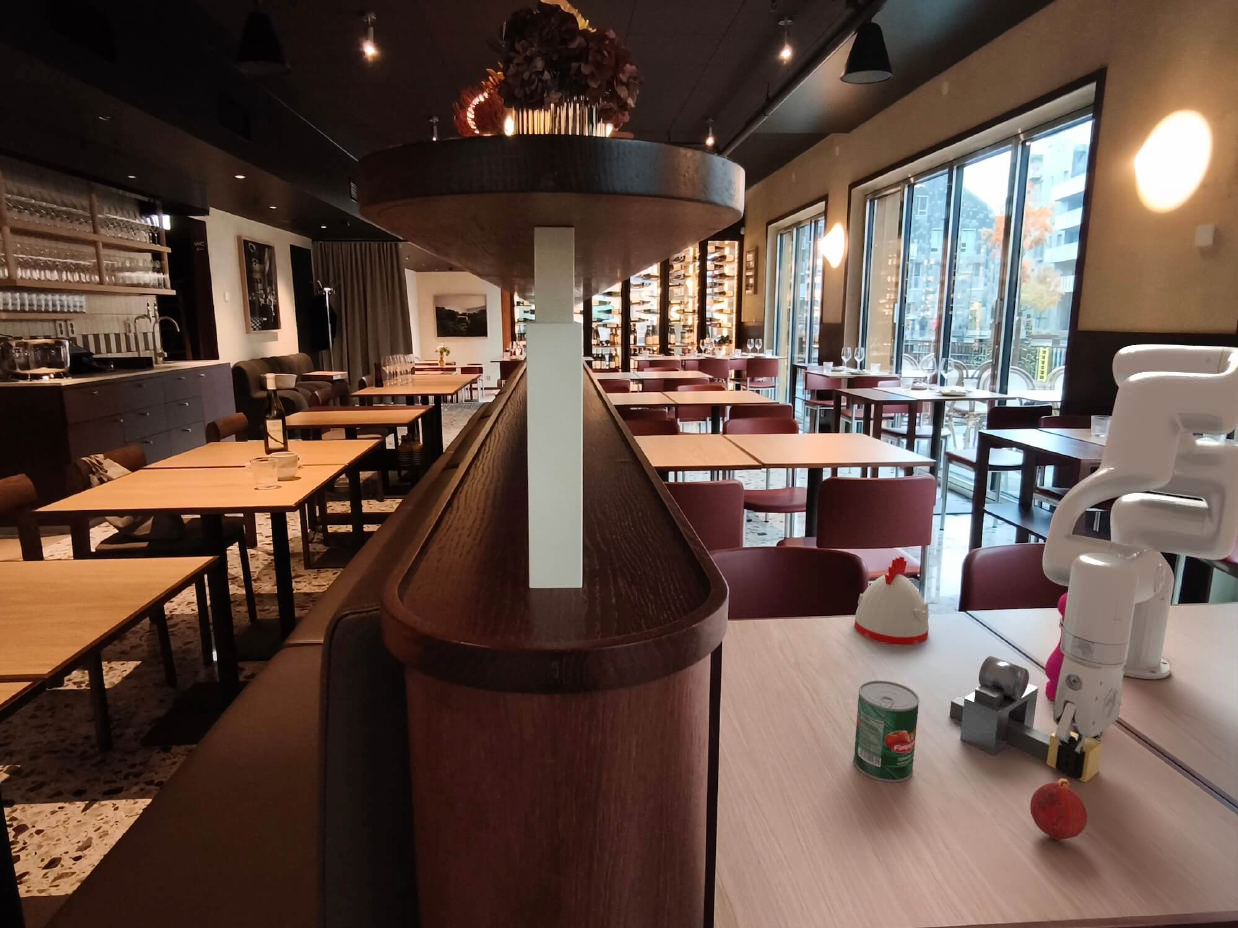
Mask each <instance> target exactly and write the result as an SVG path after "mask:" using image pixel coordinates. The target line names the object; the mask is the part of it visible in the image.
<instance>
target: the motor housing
mask: <svg viewBox="0 0 1238 928" xmlns="http://www.w3.org/2000/svg"><path fill="white" fill-rule="evenodd" d="M1029 680H1030V673H1029V671H1028V669H1027V668H1025V667H1022V666H1019V665H1017V664H1014V663H1011V662H1009V661H1006V660H1004V659H1001V658H998V657H995V656H992V655H989V656H988V657H986V658H985V659H984V661H983V662H982V663H981V667H980V669H979V674H978V683H979V686H977V687H976V688H975V689H974V692H972V693H970V694H969V695H967V696H964V697H963V698H964V707H963V717H962V721H961V725H960V726H961V728H960V736H959V739H960V740H961V741H962V742H965V743H967V744H969V745H971V746H973V747H975V748H977V749H979V750H981V751H984V752H986V753H987V754H989V755H992V756H994V755H996V754H997V753H999V752H1001V751H1002V750H1003V749H1004V748H1005V745H1006V742H1005V739H1006V731H1007V723H1008V718H1010V719H1012V720H1015V721H1017V722H1019V723H1021V724H1024V725H1026V726H1028V727H1030V728H1033V729H1034V724H1035V723H1034V722H1035V717H1036V715H1035V714H1036V706H1037V700H1038V692H1039V687H1038V686H1035V685H1033V684H1030V683H1029V682H1030V681H1029Z"/></svg>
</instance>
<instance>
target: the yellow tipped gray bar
mask: <svg viewBox="0 0 1238 928" xmlns="http://www.w3.org/2000/svg"><path fill="white" fill-rule="evenodd" d="M964 698H965V697H962V696H957V697H955V698H954V699H952V700H950V708H949V709H950V710H949V717H951V718H953V719H956V720H957V721H960V722H962V717H963V707H964ZM1055 732H1056V731H1054V732H1053V733H1051V734H1050V735H1048V734H1046V733H1044V732H1042V731H1039V730H1038V729H1035V728H1034V727H1033V728H1030V727H1028V726H1026V725H1024V724H1021V723H1019V722H1017V721H1015V720H1012V719H1010V718H1008V723H1007V731H1006V739H1005V743H1007V744H1009V745H1011V746H1014V747H1016V748H1018V749H1020V750H1022V751H1024V752H1026V753H1028V754H1031V755H1033V756H1035V757H1037V758H1039V759H1040V760H1044V761H1046V765H1047V766H1050V767H1052V768H1053V769H1056V767H1055V766H1056V758H1057V751H1058V739H1057V738H1056V737H1055ZM1070 734H1071V736H1073V737H1075V738H1076V740H1077V739H1078V735H1079V734H1076V733H1074V732H1072V731H1071V732H1070ZM1096 739H1097V738H1096ZM1096 739H1094V738H1092V737H1091V738H1088V737H1086V738H1085V743H1084V747H1083V752H1086V753H1085V760H1084V767H1083V774H1082V777H1081V778H1080V779H1078V781H1079V780H1080V781H1081V782H1084V783H1087V782H1088V781H1089V780H1090V779H1091V778H1093V777H1094V776H1096V774H1098V773H1099V769H1100V761H1101V756H1102V748H1103V744H1104V743H1103V741H1099V740H1100V739H1098V740H1096ZM1056 770H1057V769H1056Z"/></svg>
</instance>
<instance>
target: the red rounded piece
mask: <svg viewBox="0 0 1238 928" xmlns="http://www.w3.org/2000/svg"><path fill="white" fill-rule="evenodd" d="M1070 787H1071V783H1070V782H1069V780H1068V779H1066V778H1062V777H1060V779H1058V780H1057V781H1055V782H1049V783H1045V784H1043V785H1042V786H1040V787H1039V788H1037V789H1036V790H1035V791H1034V793H1033V794H1032V797H1031V799H1030V805H1029V810H1030V815H1031V817H1032V819H1033V821H1034V823H1035V825H1036V827H1038V829H1039V830H1040V831H1041V832H1043V833H1044V834H1045V835H1047V836H1048V837H1049V838H1052V839H1053V840H1055V841H1061V840H1068V839H1072V838H1077V837H1078V836H1079V835H1080V834H1081V833H1083V831H1084V830H1085V829H1086V825H1087V824H1088V814H1087V813H1088V812H1087V809H1086V806H1085V804H1084V802H1083V800H1082V799H1081V797H1080V796H1079V795H1078V794H1077V793H1076V792H1075V791H1074V790H1073V789H1072V788H1070Z"/></svg>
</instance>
